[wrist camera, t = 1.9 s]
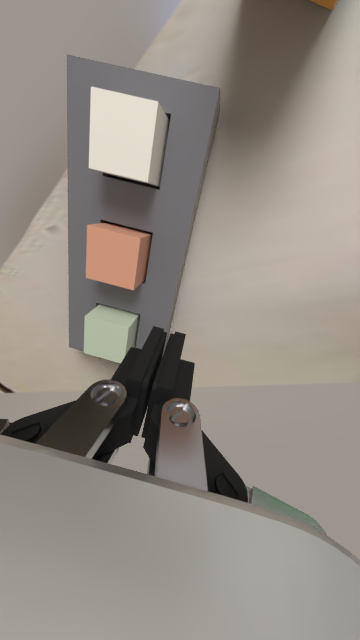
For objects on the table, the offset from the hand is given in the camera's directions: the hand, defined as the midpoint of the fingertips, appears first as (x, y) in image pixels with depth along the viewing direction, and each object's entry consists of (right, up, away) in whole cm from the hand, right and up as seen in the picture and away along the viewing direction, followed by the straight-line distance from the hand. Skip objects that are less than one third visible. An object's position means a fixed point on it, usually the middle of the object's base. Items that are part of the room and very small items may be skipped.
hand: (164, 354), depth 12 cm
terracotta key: (-6, +10, +17) cm, 21 cm away
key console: (-5, +11, +19) cm, 23 cm away
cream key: (-3, +19, +12) cm, 23 cm away
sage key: (-8, +1, +22) cm, 23 cm away
